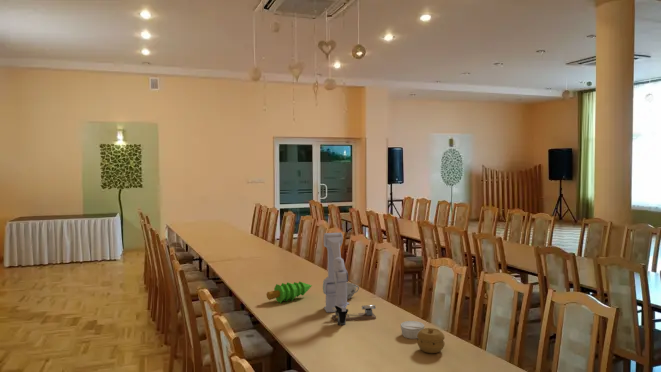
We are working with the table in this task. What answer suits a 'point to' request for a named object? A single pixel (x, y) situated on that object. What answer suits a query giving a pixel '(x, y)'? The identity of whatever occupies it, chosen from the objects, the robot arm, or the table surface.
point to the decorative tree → (288, 291)
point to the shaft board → (356, 316)
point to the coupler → (339, 320)
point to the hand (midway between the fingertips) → (341, 321)
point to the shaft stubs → (367, 309)
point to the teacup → (351, 289)
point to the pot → (430, 340)
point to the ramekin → (411, 329)
